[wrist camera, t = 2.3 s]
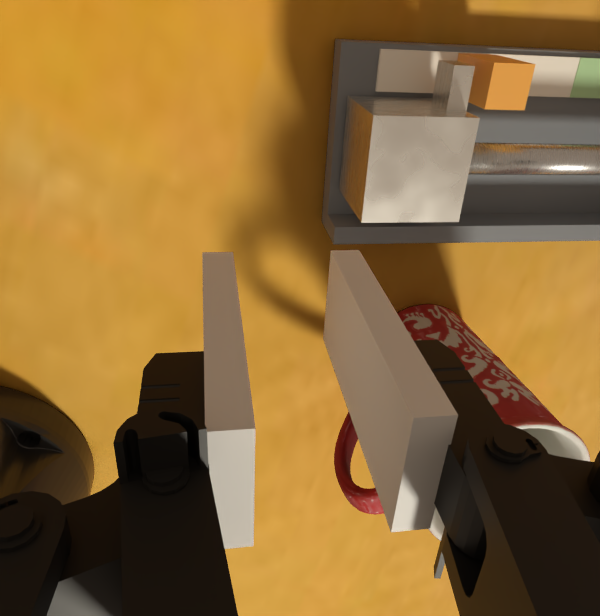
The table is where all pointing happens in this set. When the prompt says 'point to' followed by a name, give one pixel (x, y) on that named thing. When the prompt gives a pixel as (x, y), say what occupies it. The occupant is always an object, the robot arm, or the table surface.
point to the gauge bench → (492, 129)
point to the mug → (493, 383)
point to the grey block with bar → (434, 153)
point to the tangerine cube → (498, 81)
